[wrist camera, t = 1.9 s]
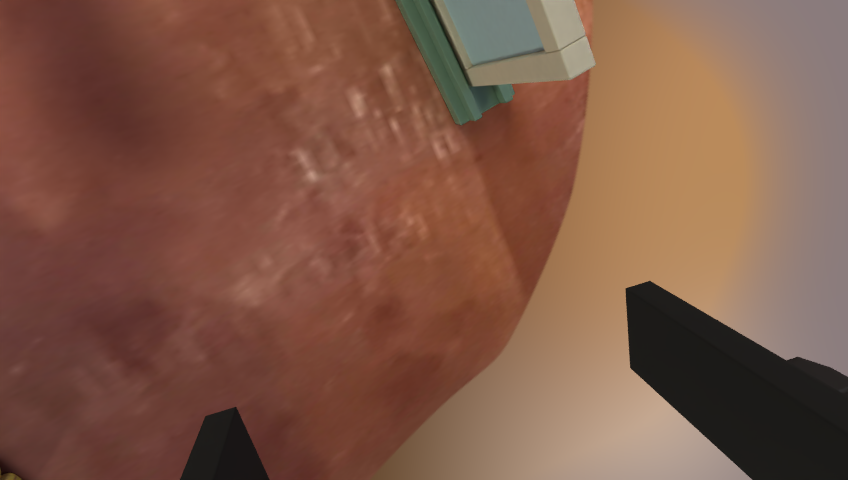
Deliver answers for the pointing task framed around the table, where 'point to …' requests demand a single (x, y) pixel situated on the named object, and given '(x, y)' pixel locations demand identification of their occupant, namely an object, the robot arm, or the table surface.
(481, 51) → the window pane
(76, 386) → the table surface
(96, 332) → the table surface
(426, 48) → the green l-shaped bracket
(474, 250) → the table surface
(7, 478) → the figurine
